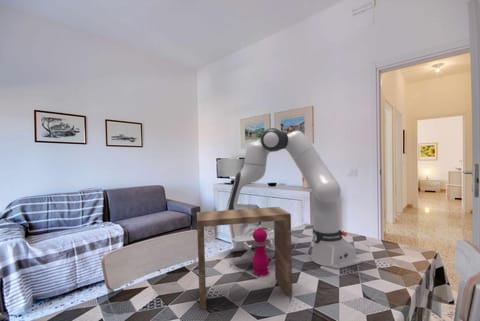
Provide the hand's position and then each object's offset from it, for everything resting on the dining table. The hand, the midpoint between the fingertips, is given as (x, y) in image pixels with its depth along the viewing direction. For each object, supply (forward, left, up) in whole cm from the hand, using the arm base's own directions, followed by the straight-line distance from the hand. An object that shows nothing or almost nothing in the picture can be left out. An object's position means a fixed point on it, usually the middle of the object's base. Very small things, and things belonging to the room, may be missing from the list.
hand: (260, 247), depth 101 cm
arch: (+10, +12, -11) cm, 19 cm away
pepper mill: (0, -1, -11) cm, 11 cm away
